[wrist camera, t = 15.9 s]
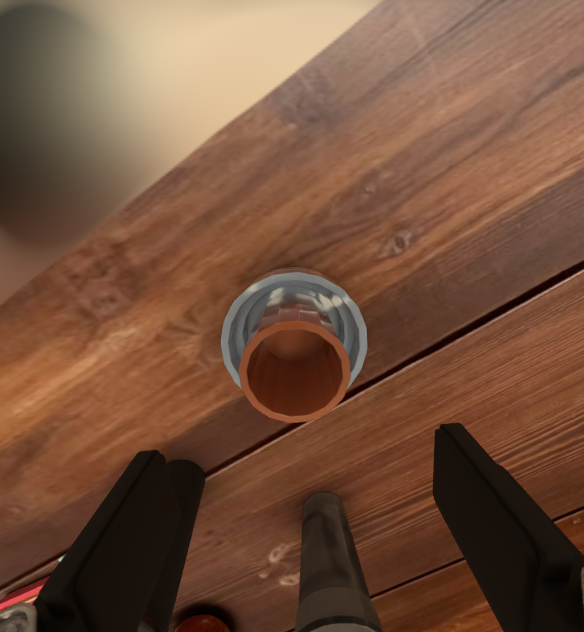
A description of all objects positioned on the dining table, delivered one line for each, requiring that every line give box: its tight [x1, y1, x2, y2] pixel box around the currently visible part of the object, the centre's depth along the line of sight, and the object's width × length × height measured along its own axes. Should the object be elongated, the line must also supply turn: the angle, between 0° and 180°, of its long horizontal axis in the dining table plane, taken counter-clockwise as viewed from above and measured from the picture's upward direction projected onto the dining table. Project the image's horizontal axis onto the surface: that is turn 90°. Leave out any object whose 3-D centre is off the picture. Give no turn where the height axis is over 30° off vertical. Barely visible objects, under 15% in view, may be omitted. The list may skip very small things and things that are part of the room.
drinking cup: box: [137, 460, 205, 632], centre depth 21 cm, size 8×8×20 cm
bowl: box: [220, 266, 367, 389], centre depth 24 cm, size 11×11×5 cm
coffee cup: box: [238, 293, 351, 423], centre depth 22 cm, size 7×7×9 cm
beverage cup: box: [295, 492, 383, 632], centre depth 23 cm, size 7×7×20 cm
